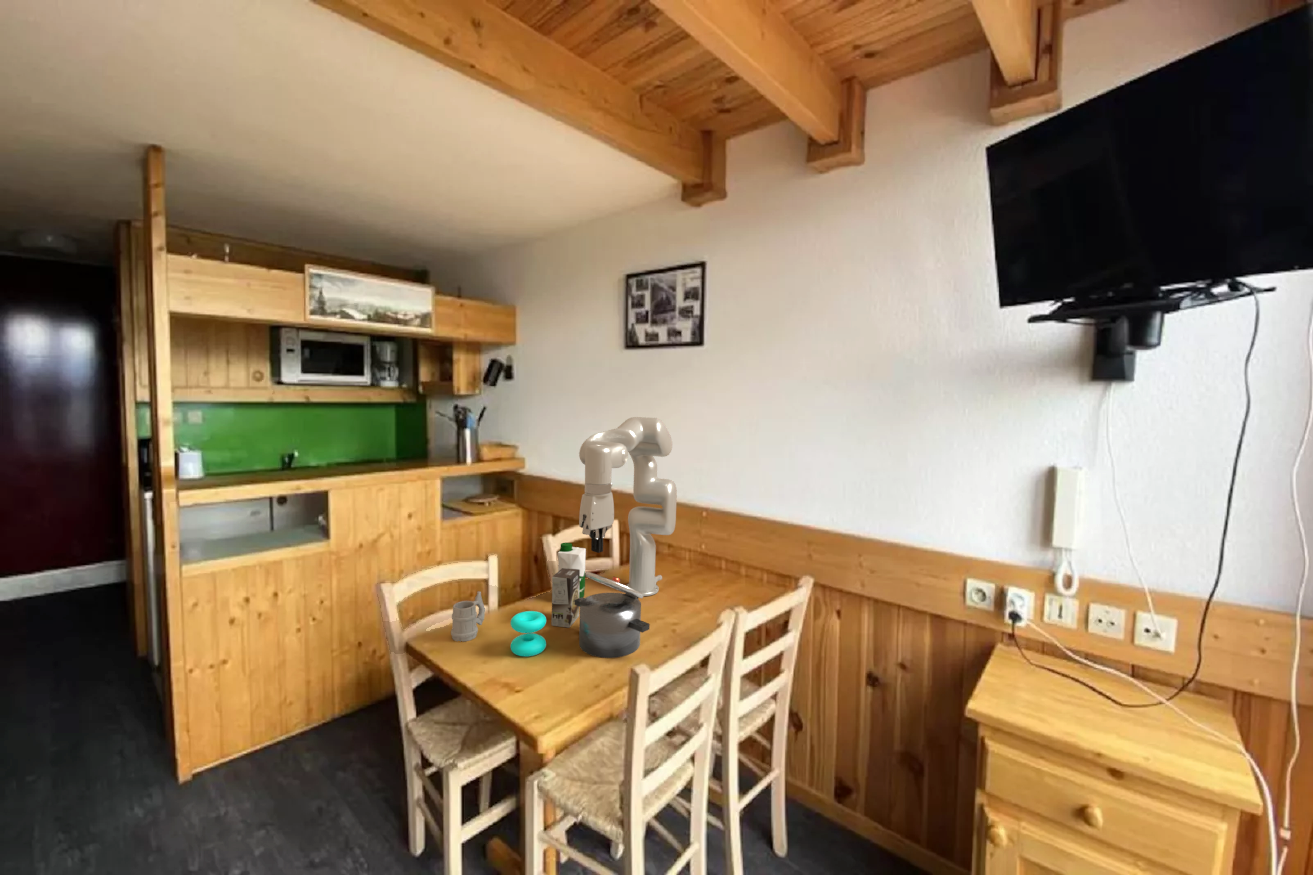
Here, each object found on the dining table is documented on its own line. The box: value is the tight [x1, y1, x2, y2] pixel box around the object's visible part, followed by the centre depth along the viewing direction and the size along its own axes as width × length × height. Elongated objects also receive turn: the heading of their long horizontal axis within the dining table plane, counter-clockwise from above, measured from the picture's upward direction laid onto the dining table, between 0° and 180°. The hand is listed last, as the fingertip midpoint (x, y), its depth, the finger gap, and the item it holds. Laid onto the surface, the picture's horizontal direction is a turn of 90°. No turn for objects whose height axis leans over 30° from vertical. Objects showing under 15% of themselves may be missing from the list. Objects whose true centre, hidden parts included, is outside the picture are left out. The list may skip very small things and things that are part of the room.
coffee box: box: [551, 568, 580, 628], centre depth 180 cm, size 9×6×16 cm
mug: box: [450, 590, 486, 642], centre depth 169 cm, size 8×12×12 cm, turn 152°
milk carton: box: [557, 542, 587, 598], centre depth 197 cm, size 9×9×20 cm
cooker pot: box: [575, 592, 651, 659], centre depth 166 cm, size 18×28×12 cm, turn 50°
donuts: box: [510, 610, 547, 657], centre depth 160 cm, size 10×10×10 cm
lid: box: [585, 571, 644, 599], centre depth 166 cm, size 18×18×3 cm
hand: (597, 551), depth 161 cm, fingers closed
